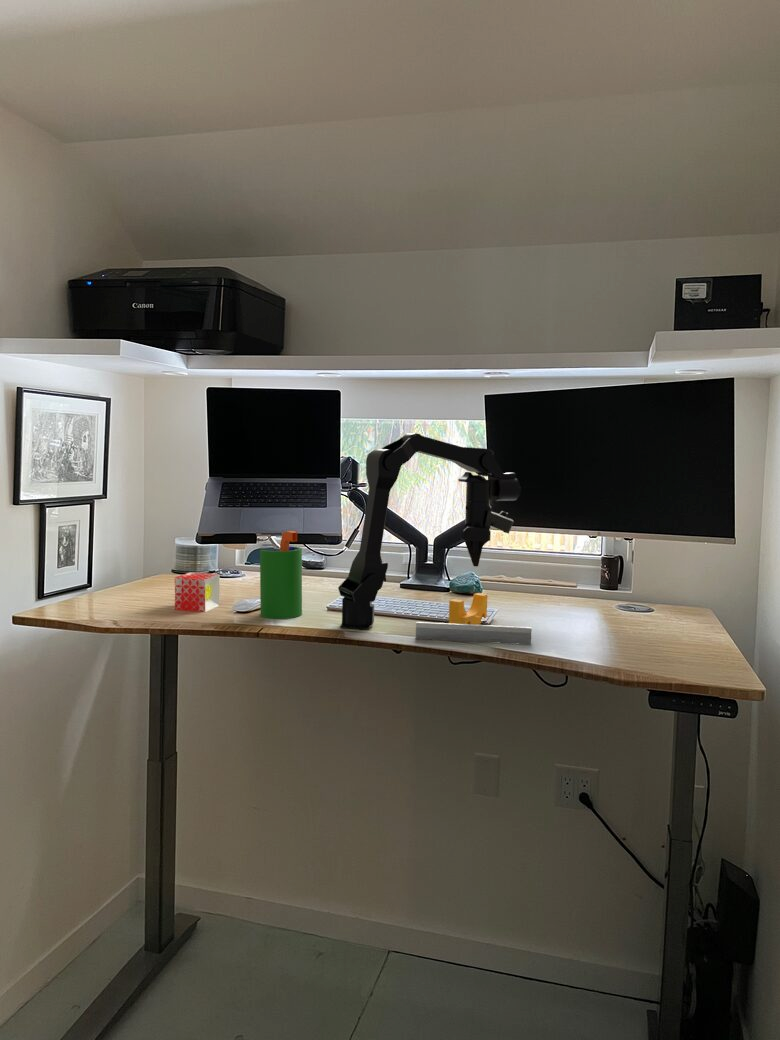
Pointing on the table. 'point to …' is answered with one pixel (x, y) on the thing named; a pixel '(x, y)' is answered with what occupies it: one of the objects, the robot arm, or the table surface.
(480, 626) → the rail
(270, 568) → the cup with straw
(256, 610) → the table surface
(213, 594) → the puzzle cube
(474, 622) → the pipe clamp
